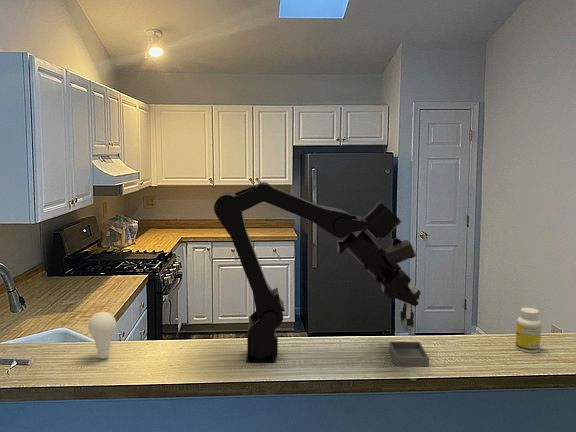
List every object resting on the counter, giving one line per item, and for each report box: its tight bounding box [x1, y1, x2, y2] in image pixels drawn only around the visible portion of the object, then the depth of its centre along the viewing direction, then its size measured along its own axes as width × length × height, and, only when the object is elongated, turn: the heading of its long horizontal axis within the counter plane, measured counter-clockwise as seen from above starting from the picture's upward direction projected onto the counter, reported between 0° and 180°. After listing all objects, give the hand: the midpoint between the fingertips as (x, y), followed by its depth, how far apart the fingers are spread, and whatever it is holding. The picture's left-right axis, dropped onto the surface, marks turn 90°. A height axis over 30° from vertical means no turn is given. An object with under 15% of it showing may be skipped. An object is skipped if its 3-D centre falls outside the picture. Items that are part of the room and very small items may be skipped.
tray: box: [388, 341, 430, 367], centre depth 125 cm, size 7×9×2 cm
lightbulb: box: [87, 311, 117, 360], centre depth 123 cm, size 6×6×11 cm
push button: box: [399, 283, 422, 334], centre depth 125 cm, size 7×5×10 cm
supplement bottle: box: [515, 307, 542, 354], centre depth 130 cm, size 5×5×10 cm
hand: (414, 301), depth 125 cm, fingers closed on push button, 5 cm apart
